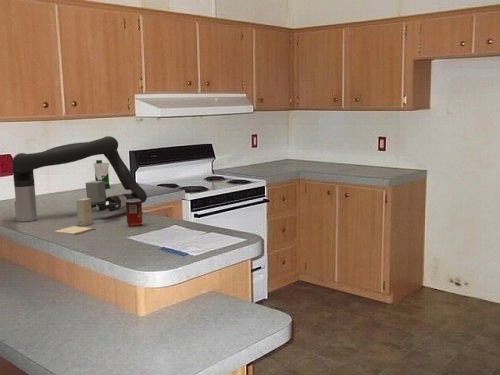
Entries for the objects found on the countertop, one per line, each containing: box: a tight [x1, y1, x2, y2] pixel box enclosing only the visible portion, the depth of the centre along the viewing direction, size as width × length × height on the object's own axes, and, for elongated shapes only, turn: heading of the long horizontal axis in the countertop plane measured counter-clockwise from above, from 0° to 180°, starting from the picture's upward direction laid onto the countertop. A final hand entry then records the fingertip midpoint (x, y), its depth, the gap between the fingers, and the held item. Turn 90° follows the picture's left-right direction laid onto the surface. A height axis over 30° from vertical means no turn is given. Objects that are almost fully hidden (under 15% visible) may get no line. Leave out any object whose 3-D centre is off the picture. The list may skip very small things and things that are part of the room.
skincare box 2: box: [84, 180, 107, 212], centre depth 284 cm, size 8×7×16 cm
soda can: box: [125, 199, 143, 228], centre depth 242 cm, size 7×7×12 cm
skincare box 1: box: [75, 197, 94, 227], centre depth 247 cm, size 6×4×12 cm
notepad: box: [54, 225, 96, 235], centre depth 235 cm, size 14×11×1 cm
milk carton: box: [93, 159, 111, 190], centre depth 369 cm, size 9×9×20 cm
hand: (92, 207), depth 252 cm, fingers open, 8 cm apart
